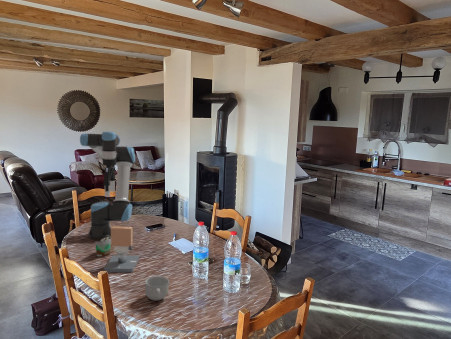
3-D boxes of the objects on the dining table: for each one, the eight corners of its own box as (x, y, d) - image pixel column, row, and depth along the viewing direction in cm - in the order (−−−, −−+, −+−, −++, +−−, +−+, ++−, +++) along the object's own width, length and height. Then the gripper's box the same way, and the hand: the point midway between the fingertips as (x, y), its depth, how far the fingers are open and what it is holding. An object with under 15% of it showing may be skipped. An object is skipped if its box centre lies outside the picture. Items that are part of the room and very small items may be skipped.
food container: (104, 259, 183) (104, 243, 182) (95, 258, 185) (94, 241, 183) (116, 251, 195) (116, 235, 194) (107, 250, 196) (106, 234, 195)
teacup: (147, 290, 152) (147, 275, 150) (170, 290, 153) (170, 275, 151) (142, 307, 138) (142, 290, 137) (167, 307, 139) (167, 290, 138)
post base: (112, 258, 185) (112, 244, 184) (138, 258, 186) (138, 245, 185) (103, 272, 168) (103, 257, 167) (132, 272, 169) (132, 257, 168)
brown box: (109, 252, 172) (109, 229, 170) (114, 247, 180) (114, 224, 178) (129, 253, 172) (129, 230, 170) (134, 248, 180) (134, 225, 178)
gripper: (111, 161, 173) (112, 199, 176) (120, 156, 197) (120, 189, 200) (97, 161, 172) (98, 199, 175) (107, 155, 196) (108, 189, 199)
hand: (110, 194), depth 188 cm, fingers open, 13 cm apart
